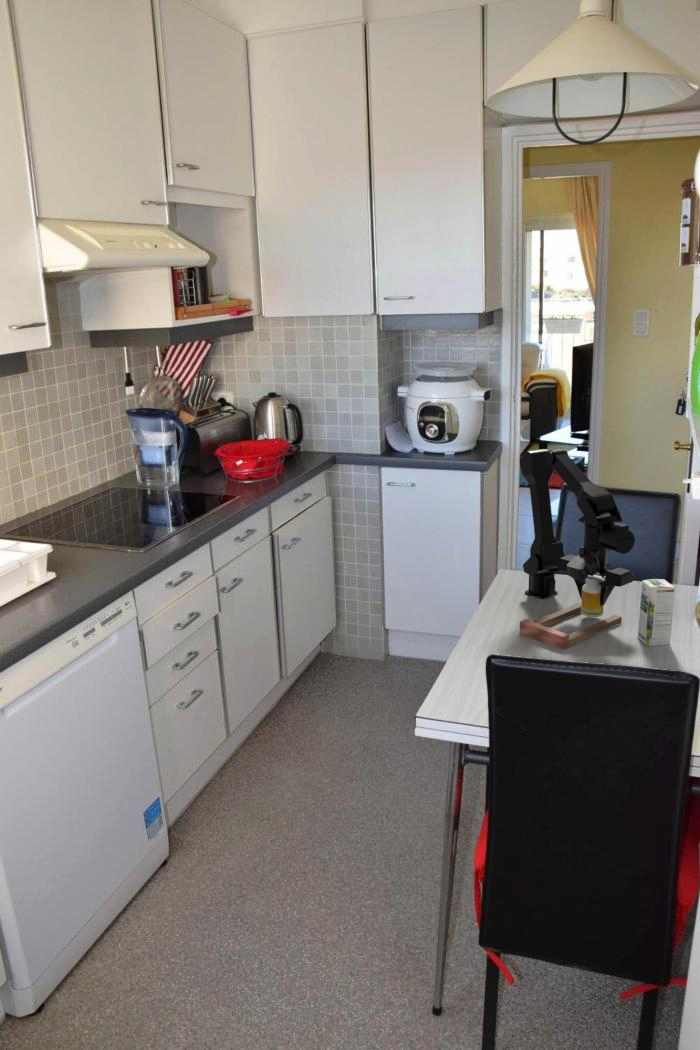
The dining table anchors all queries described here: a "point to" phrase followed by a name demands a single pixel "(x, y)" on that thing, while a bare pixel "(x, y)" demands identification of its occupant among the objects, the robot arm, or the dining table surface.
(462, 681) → the dining table surface
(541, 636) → the frame
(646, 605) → the syrup box
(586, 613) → the supplement bottle
